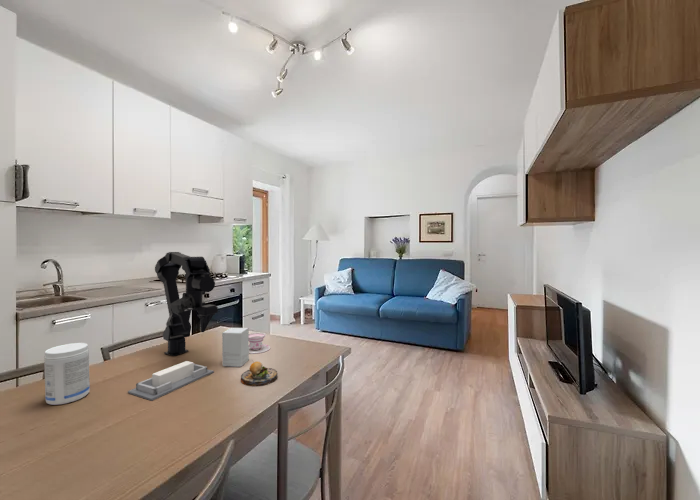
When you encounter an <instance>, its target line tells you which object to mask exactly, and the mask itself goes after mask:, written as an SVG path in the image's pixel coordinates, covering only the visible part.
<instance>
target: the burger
mask: <svg viewBox="0 0 700 500" xmlns="http://www.w3.org/2000/svg"><path fill="white" fill-rule="evenodd" d="M251 361H252V363H251V364H250V366H249V369H247V370H246V371H244V372H243V373H241V375H240V383H242V384H243V386H244V385H245V386H248V387H263V386H268V385H269V384H272V383H274V382H275V381H276V378H277V376H278V371H277V370H276V369H275V368H271V367H266V366H263V362H260V361H253V359H251Z"/></svg>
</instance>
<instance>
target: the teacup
mask: <svg viewBox="0 0 700 500" xmlns="http://www.w3.org/2000/svg"><path fill="white" fill-rule="evenodd" d="M266 334H267V333H266V332H252V333H249V355H250V354H252V355H255V354H262V353H266V352H268V351H269V350H270V349H271V346H270V345H269V344H266V343H263V341H264V338H265V337H266Z"/></svg>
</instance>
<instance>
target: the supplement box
mask: <svg viewBox="0 0 700 500" xmlns="http://www.w3.org/2000/svg"><path fill="white" fill-rule="evenodd" d="M249 334H250V333H249V327H230V328H228V329H227V330H225V331H223V332H222V333H221V335H222V336H221V337H222V338H221V341H222V342H221V345H222V348H221V349H222V357H221V358H222V367H233V368H234V367H236V368H237V367H238V368H239V367H243V366H244V365H245V364H246V363H247V362H248V361H249V360H250V359H249V357H250V356H249V355H250V354H249V344H250V343H249Z"/></svg>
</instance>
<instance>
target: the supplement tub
mask: <svg viewBox="0 0 700 500" xmlns="http://www.w3.org/2000/svg"><path fill="white" fill-rule="evenodd" d="M43 358H44V359H43V361H44V365H43V366H44V388H45V390H44V391H45V392H44V393H45V397H44V398H45V402H46V404H48V405H53V406H55V405H56V406H58V405H65V404H69V403H71V402H76V401H79V400H81V399H82V398H84V397H86V396H87V395H88V394H89V393H90V390H91V388H90V386H91V385H90V351H89V345H88V343H86V342H73V343H66V344H62V345H57V346H53V347H50V348H48V349H46V350H45V351H44V357H43Z"/></svg>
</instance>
